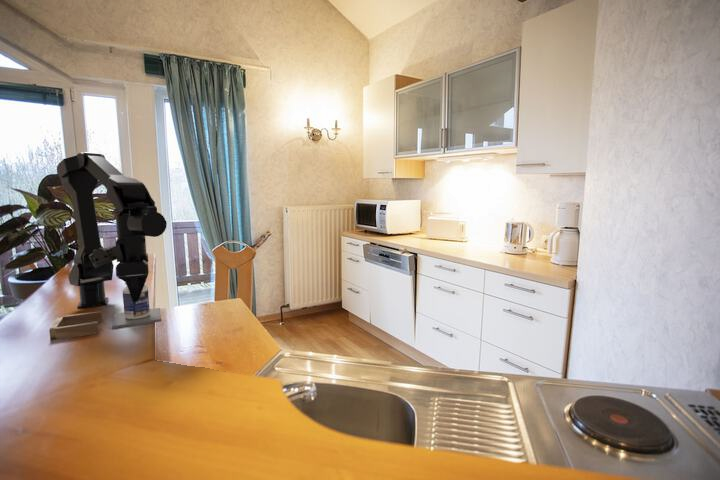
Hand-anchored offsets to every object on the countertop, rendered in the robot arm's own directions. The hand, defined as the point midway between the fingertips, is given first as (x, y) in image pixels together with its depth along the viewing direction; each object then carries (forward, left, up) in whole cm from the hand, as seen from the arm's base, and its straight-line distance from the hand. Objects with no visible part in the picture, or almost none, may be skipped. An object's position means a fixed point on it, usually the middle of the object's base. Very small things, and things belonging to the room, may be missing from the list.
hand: (136, 296), depth 90 cm
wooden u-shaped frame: (+2, -11, -6) cm, 13 cm away
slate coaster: (0, 0, -6) cm, 6 cm away
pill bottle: (0, 0, -5) cm, 5 cm away
